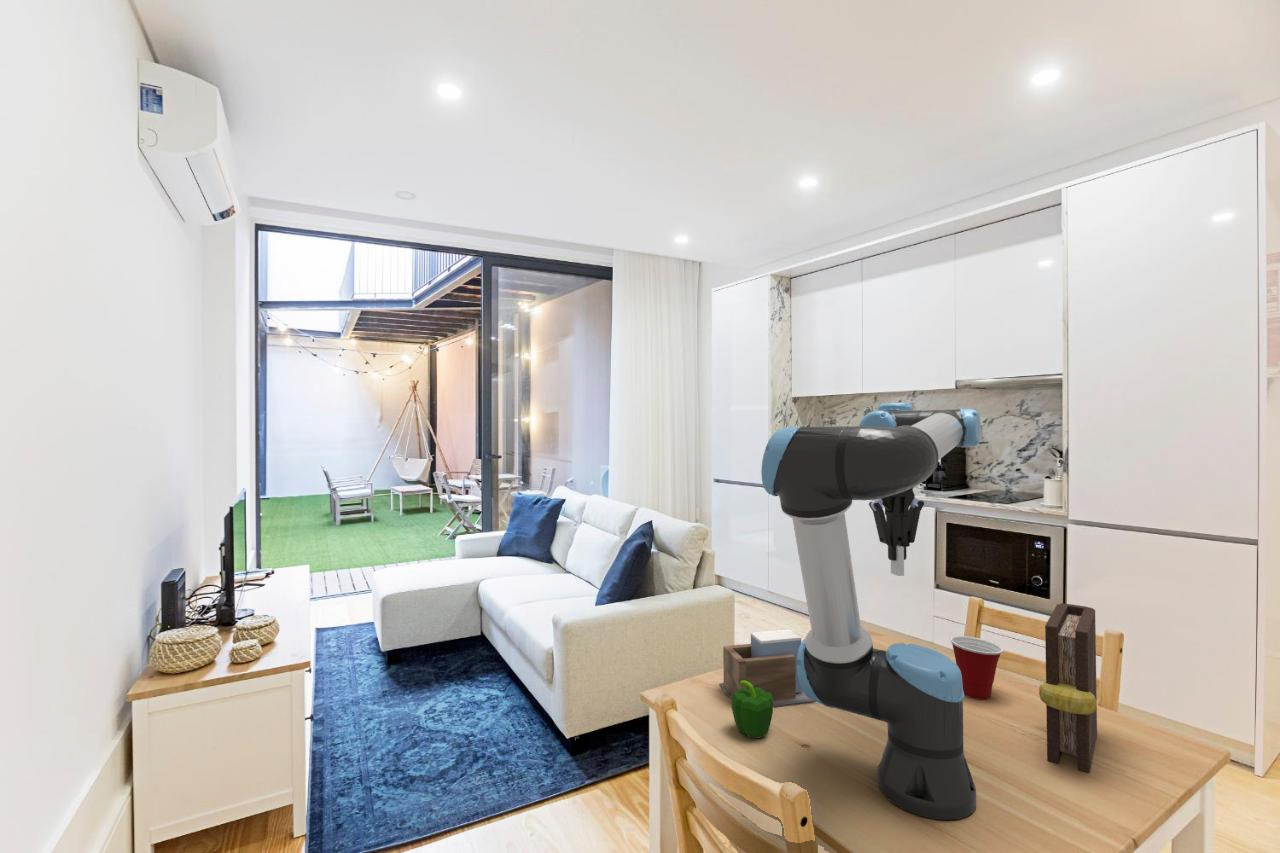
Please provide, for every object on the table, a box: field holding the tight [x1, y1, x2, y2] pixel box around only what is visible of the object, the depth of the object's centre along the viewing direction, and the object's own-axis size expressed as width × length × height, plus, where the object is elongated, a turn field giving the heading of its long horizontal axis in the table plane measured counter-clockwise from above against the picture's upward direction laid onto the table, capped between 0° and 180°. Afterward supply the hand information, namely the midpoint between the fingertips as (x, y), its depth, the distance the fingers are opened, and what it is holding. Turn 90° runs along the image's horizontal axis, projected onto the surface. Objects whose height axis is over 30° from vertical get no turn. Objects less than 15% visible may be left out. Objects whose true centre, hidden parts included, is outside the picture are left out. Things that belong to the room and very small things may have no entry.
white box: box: [750, 628, 802, 693], centre depth 142 cm, size 6×10×13 cm, turn 103°
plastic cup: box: [949, 635, 1004, 700], centre depth 140 cm, size 11×11×12 cm
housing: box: [718, 643, 817, 708], centre depth 141 cm, size 14×18×10 cm
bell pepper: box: [731, 680, 774, 739], centre depth 123 cm, size 8×8×10 cm
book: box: [1038, 603, 1098, 774], centre depth 116 cm, size 22×8×25 cm, turn 139°
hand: (897, 574), depth 138 cm, fingers closed
